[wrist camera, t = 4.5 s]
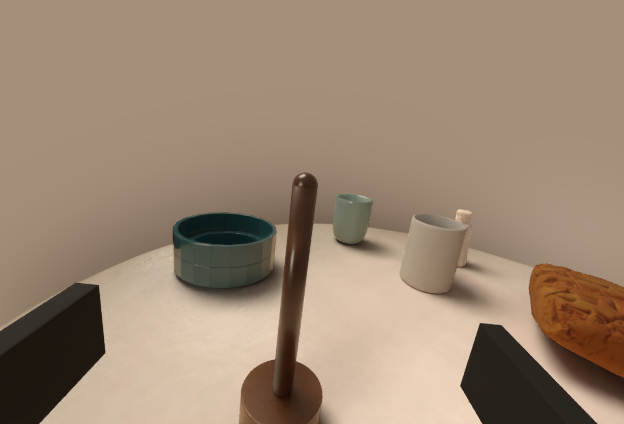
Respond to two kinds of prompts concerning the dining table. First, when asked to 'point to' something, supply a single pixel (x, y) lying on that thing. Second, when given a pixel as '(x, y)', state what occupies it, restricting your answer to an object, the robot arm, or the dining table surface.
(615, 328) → the cuneiform tablet
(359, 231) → the cup
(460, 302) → the dining table surface
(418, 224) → the mug
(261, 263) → the bowl
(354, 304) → the dining table surface
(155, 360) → the dining table surface
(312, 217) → the wooden peg stand
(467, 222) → the pepper shaker
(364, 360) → the dining table surface
